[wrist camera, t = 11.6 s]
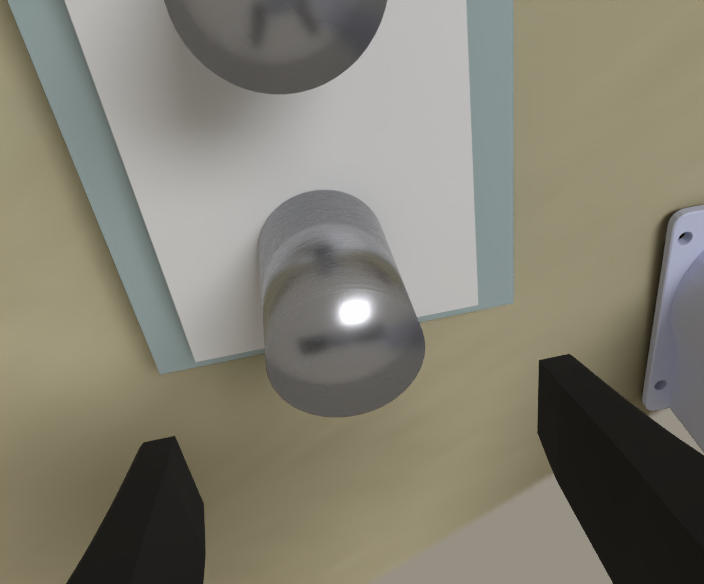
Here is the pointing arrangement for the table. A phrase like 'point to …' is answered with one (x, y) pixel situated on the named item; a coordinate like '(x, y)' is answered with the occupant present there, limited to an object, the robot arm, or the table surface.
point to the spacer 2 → (334, 307)
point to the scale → (282, 159)
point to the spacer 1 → (277, 39)
